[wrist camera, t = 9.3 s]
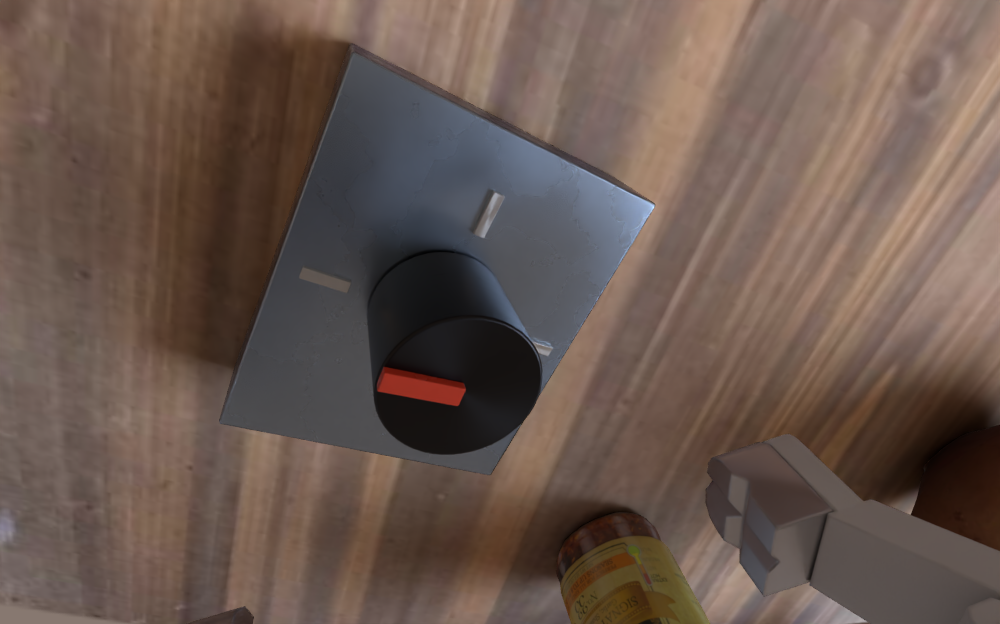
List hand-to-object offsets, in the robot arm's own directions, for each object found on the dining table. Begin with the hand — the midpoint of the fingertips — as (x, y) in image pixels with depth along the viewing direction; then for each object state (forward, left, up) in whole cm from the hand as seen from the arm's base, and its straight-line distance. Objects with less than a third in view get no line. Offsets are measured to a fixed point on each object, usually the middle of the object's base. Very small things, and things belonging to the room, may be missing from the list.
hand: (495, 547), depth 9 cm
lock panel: (0, 0, -12) cm, 12 cm away
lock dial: (0, -1, -9) cm, 9 cm away
